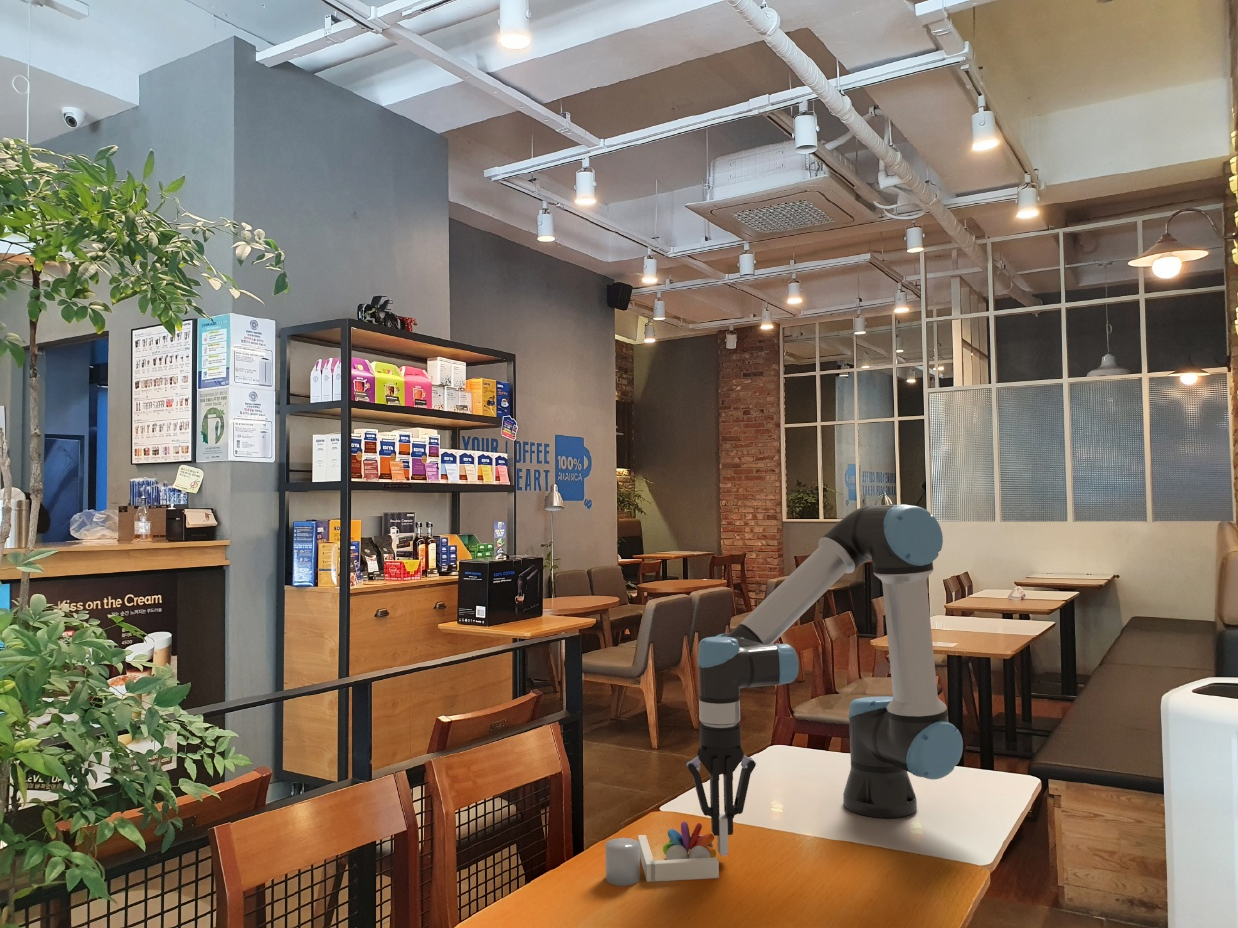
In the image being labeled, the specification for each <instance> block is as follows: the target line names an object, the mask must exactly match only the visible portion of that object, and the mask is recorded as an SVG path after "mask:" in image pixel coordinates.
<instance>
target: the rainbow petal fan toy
mask: <svg viewBox="0 0 1238 928" xmlns="http://www.w3.org/2000/svg"><path fill="white" fill-rule="evenodd" d="M702 828H703V824H702V823H701V822H698V823H697V824H696V825H695V826H694V829H693V831H692V834H691V832H690V828H689V824H688V823H687V821H682V822H681V824H680V832H679V831H678V830H676V829H675V828H670V829H668V831H667V836H668V839H669V842H666V843H665V844H664V845H663V848H662V852H663V854H664V855H665V858H666V860H675V859H694V858H713V857H717V852H716V850H715V849H714V844H713V842H714V840H715V836H714V835H713V833H706V834H704V835H703V834H701V835H700V833H701V831H702Z"/></svg>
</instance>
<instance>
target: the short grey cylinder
mask: <svg viewBox="0 0 1238 928" xmlns="http://www.w3.org/2000/svg"><path fill="white" fill-rule="evenodd" d="M604 847H605V850H604V851H605V881H606V882H607V883H608V884H610V885H611V886H612V885H613V886H619V887H627V886H633V885H635V884H637V883H639V882H640V879H641V868H640V867H641V864H640V863H641V859H640V854H639V842H638V840H637V839H634V838H629V837H618V838H613V839H610V840H607V841H606V842H605V845H604Z"/></svg>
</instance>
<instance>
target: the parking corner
mask: <svg viewBox="0 0 1238 928" xmlns="http://www.w3.org/2000/svg"><path fill="white" fill-rule="evenodd" d="M637 841H638V842H639V854H640V863H641V866H642V870H643V873H644V877H645V880H646V882H647V883H650V882H651V883H653V882H667V881H668V882H669V881H687V880H689V881H691V880H705V879H707V880H708V879H709V880H710V879H720V871H719V870H720V868H719V867H720V864H719V863H720V862H719V859H718V857H717V856H716V857H713V858H694V859H675V860H667V859H661V860H660V859H659V860H654V856H653V854H652V851H651V847H650V844H649V841H648V838H647V835H646V834H639V835H637Z"/></svg>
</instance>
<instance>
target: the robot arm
mask: <svg viewBox="0 0 1238 928" xmlns="http://www.w3.org/2000/svg"><path fill="white" fill-rule="evenodd" d="M943 536H944V535H943V531H942V528H941V525H940V523H939V521H938V520H937V518H936V517H935V515H933V514H931V512H930V511H928V510H927V509H926V508H923V507H921V506H917V505H909V504H905V503H904V504H885V505H879V504H870V505H865V506H861V507H859V508H857V509H855V510H853V511H852V512H850V513H849V514H847V515H846V516H844V517H843V518H842V519H840V520H839V521H838V522H837V523H836V524H835V525H834V526H832V527H831V528H830V529H829V530H828V531H827V532H826V533H825V534H824V535H823V536H822V537H820V539H819V540H818V547H817V548H816V549H815V551H813V552H812V553H811V554H810V555H809V556H808V557H807V558H806V559H805V560H804V561H803V562H801V564H800V565H799V566H798V567H796V569H794V570H793V571H792V572H791V573H790V574H789V576H788V577H786V578H785V580H784V581H782V582H781V583H780V584H779V585H778V586H777V587H776V588H775V589H774V590H773V591H772V592H771V593H770V594H769V595H768V596H767V597H766V598H764V599H763V600H762V601H761V602H760V603H759V605H758V606H757V607H755V608H754V610H752V612H751V613H749V614H748V615H747V616H746V617H745V618H744V619H743V620H742V621H741V622H740V623H739V624H738V625H737V626H736V627H735V628H734V629H733V630H732V631H730V632H729V633H727V632H725V633H720V634H717V635H716V636H709V637H705V638H702V639H701V640H700V641H699V644H698V648H697V649H698V651H697V663H696V664H697V671H698V675H697V676H698V701H699V702H698V708H699V710H698V711H699V713H698V714H699V718H698V719H699V721H700V722H701V723H700V724H699V748H698V751H697V753H696V756H695V758H693V759H691V760H690V759H689V760H687V761H686V762H685V765H686V767H687V769H688V770H689V773H690V774H691V777H692V780H693V783H694V786H695V790H696V794H697V798H698V801H699V802H698V803H699V806H700V807H699V808H700V810H701V812H702V814H703V815H704V816H706V817H710V818H711V819H710V820H711V832H712V833H711V834H713V836H714V837H715V836H716V838H717V839H716V842H717V843H716V844H717V845H716V846H717V848H716V849H717V852H718V854H719V855H720V857H721V856H729V836H732V835H733V834H734V818H735V816H736V815H741V814H743V812H744V808H745V803H746V798H747V792H748V788H749V785H750V778H751V775H752V773H753V771H754V769H755V767H756V766H757V763H756V762H755V760H754V759H753V758H752V757H748V756H747V755H745V753H744V750H743V749H742V738H741V735H742V734H741V725H740V723H739V722H740V721H741V706H740V705H741V703H740V702H741V701H740V698H741V696H740V693H741V689H745V688H746V689H748V688H760V687H768V686H769V687H771V686H781V685H787V684H790V683H793V682H794V681H795V680H796V678H797V677H798V675H799V670H800V669H799V668H800V666H799V657H798V655H797V652H796V650H795V648H794V647H793V646H792V645H790V644H787V643H778V642H777V643H776V641H777V640H778V639H779V638H780V637H781V636H782V635H783V634H784V633H785V632H786V631H787V630H788V629H789V628H790V627H791V626H792V625H793V624H794V623H796V621H797V620H798V619H800V617H802V615H803V614H804V613H806V612H807V610H809V609H810V607H812V606H813V605H814V604H815V603H816V602H817V601H818V600H819V599H820V598H822V596H823V595H824V594H825V593H827V591H828V590H829V589H830V588H831V587H832V586H833V585H834V584H835V583H836V582H838V580H839V579H840V578H841V577H842V576H844V574H852V573H853V572H854V571H856V570H857V568H859V567H860V566H862V565H863V564H866V563H868V562H872V569H873V570H872V572H873V575H874V576H875V577H877V579H879V580H880V581H881V583H882V584H881V585H882V592H883V593H882V594H883V602H884V616H885V624H886V635H887V644H888V653H889V654H888V655H889V665H890V666H889V667H890V675H891V676H890V677H891V688H892V696H866V697H860V698H855V699H853V700H852V701H851V702H850V703H849V711H848V721H849V747H850V748H849V750H850V752H849V753H850V755H849V756H850V770H849V774H848V777H847V779H846V784H845V786H844V789H843V796H842V797H843V799H842V800H843V807H844V808H845V809H847V810H848V811H850V812H853V813H854V814H857V815H862V816H865V817H866V816H867V817H873V818H883V819H885V818H886V819H889V818H890V819H893V818H894V819H896V818H903V817H907V816H911V815H913V814H915V813H916V811H917V809H918V807H917V806H918V805H917V800H918V799H917V796H916V794H915V793H916V792H915V791H914V787H913V785H912V781H911V779H910V776H909V773H910V774H912V775H913V776H915V777H917V778H918V777H919V778H924V779H927V780H939V779H943V778H944V777H946V776H948V775H949V774H951V773H952V772H953V771H954V770H955V767H956V765H958V764H959V763H960V760H961V758H962V755H963V750H964V748H963V747H964V741H963V737H962V733H961V732H960V731H959V729H958V728H957V727H956V726H955V725H954V724H953V723H951V722H949V715H948V706H947V705H946V703H944V701H943V700H941V699H940V698H939V697H938V687H937V676H936V675H937V674H936V665H935V654H934V644H933V635H932V634H933V632H932V626H931V625H932V624H931V622H932V621H931V614H930V604H929V603H930V602H929V593H928V582H927V580H928V577H929V576H930V575H931V574H932V573H933V572H934V561H935V560H936V559H938V557H939V555H940V554H939V553H940V552H941V551H942V549H943V544H944V538H943ZM701 764H702V765H703V767H704V768H705V769H706V771H707V772H708V773H709V774H708V776H709V791H710V792H709V794H710V795H709V796H710V797H709V800H710V806H709V803H708V800H707V796H706V792H705V789H704V784H703V782H702V777H701V774H700V770H701ZM739 764H740V766H741V767H742V768H741V770H740V774H739V778H738V779H739V780H738V784H737V789H736V793H735V799H734V791H733V787H734V786H733V785H734V784H733V783H734V782H733V781H734V772H735V771H736V769H737V768H738V766H739ZM720 775H722V778H723V805H724V806H723V809H724V810H723V811H724V813H720V783H719V782H720Z"/></svg>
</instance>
